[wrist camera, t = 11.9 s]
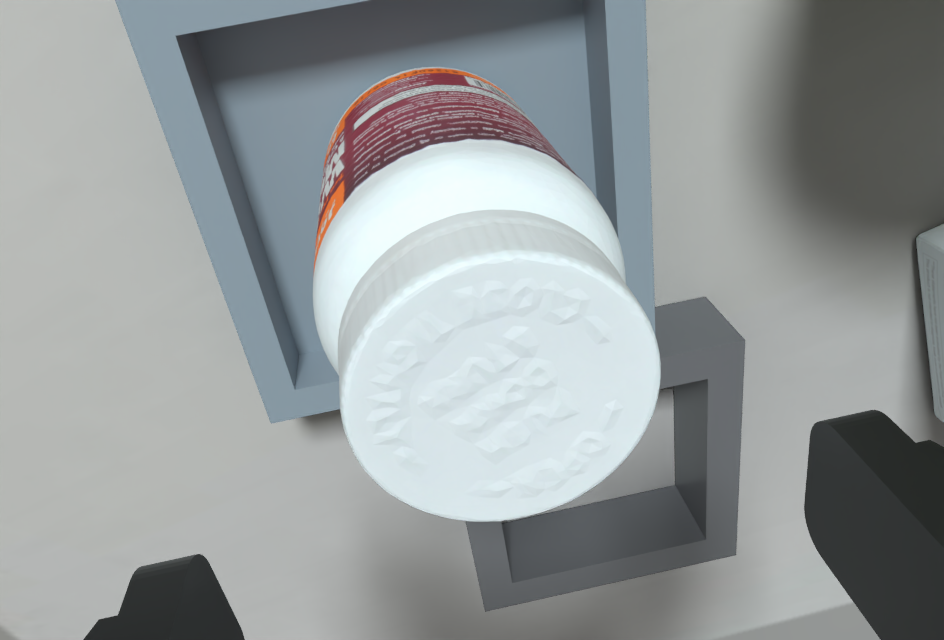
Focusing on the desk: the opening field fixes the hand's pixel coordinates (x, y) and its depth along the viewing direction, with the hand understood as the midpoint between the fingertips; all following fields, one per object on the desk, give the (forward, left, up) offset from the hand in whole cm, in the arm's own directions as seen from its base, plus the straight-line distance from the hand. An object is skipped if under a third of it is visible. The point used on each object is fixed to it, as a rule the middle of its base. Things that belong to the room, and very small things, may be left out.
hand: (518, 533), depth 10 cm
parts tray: (0, -1, -15) cm, 15 cm away
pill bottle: (0, -1, -14) cm, 14 cm away
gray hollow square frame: (-4, +11, -15) cm, 19 cm away
